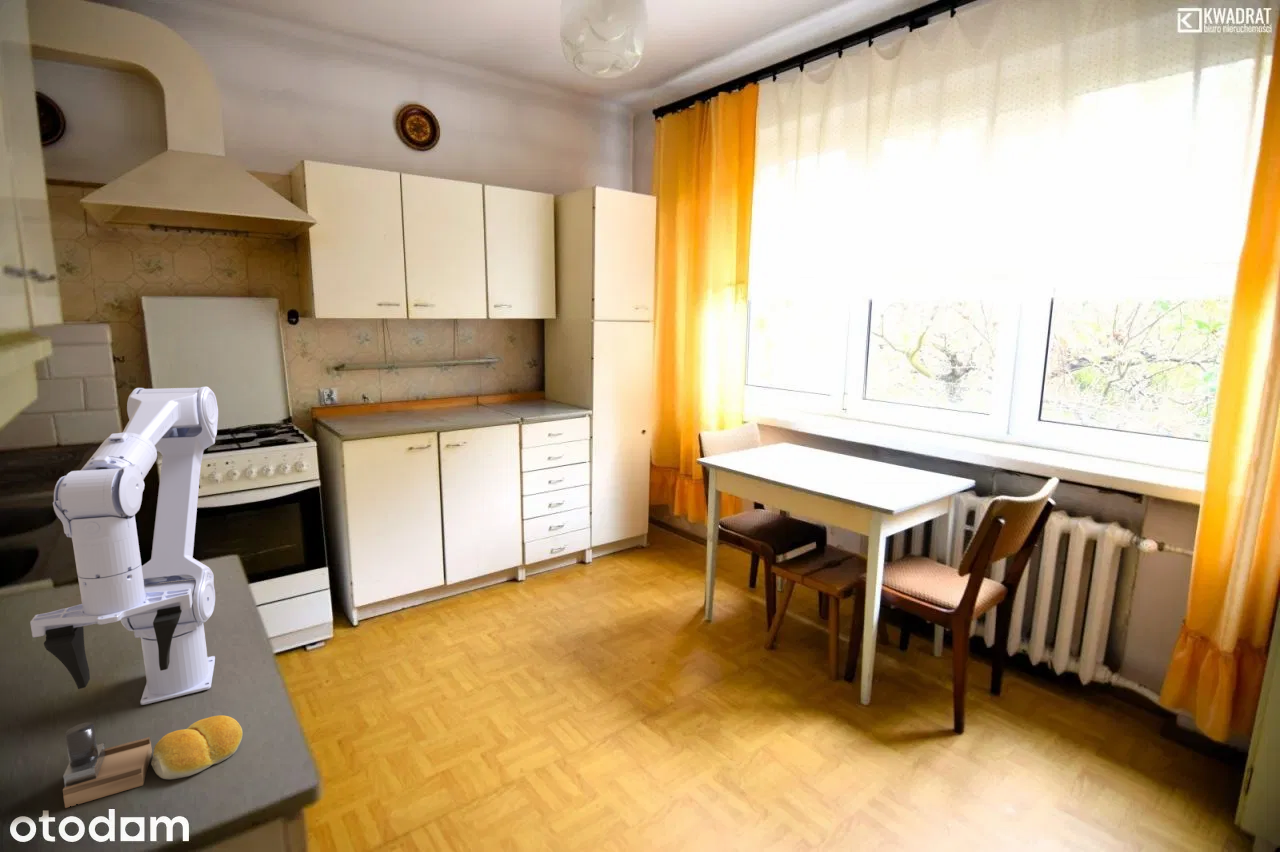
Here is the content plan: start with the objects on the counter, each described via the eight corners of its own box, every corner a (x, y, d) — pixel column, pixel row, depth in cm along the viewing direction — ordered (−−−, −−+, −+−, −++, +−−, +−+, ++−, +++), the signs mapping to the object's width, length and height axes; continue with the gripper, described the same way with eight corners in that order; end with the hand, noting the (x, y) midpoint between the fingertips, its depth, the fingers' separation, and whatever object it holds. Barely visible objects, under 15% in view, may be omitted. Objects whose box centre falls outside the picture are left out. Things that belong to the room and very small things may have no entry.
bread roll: (254, 748, 77) (251, 719, 76) (169, 792, 70) (164, 760, 69) (226, 723, 82) (223, 695, 81) (143, 761, 75) (139, 731, 74)
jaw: (76, 762, 72) (69, 721, 71) (105, 754, 73) (99, 714, 72) (65, 788, 68) (58, 745, 67) (96, 779, 69) (89, 737, 68)
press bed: (80, 771, 73) (77, 755, 72) (152, 751, 76) (149, 736, 76) (65, 808, 67) (62, 790, 67) (143, 785, 71) (140, 768, 70)
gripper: (13, 595, 66) (33, 711, 68) (182, 568, 73) (195, 674, 75) (35, 572, 72) (52, 679, 74) (188, 549, 79) (200, 647, 81)
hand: (125, 674), depth 75 cm, fingers open, 7 cm apart
